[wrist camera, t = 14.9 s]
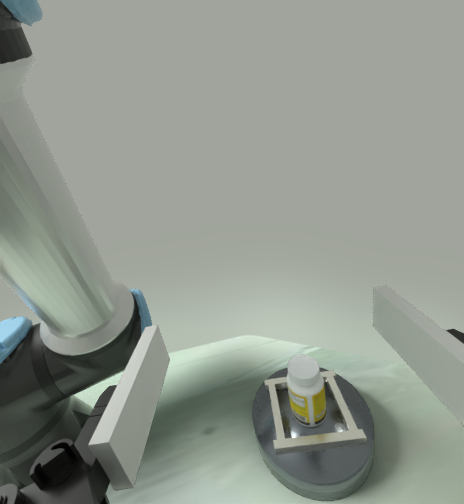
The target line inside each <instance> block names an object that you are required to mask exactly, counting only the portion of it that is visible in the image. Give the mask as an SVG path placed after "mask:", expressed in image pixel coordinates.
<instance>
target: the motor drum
mask: <svg viewBox="0 0 464 504" xmlns="http://www.w3.org/2000/svg"><path fill="white" fill-rule="evenodd" d="M319 369H320V373H321V375H322V377H323V380H324V389H325V400H326V418H325V420H324V422H323V423H322V424H321V425H319V426H316V427H306V426H303V425H301V424H300V423H298V422H297V421H296V419H295V418H294V416H293V414H292V411H291V405H290V399H289V392H288V386H287V374H288V368H285V369H282V370H280V371H278V372H276V373H274V374H273V375H271V376H270V377H269V378H268V379H267V380H264V381H265V382H264V383H263V384H262V385H261V387H260V388H259V390H258V392H257V394H256V396H255V399H254V403H253V424H254V429H255V433H256V438H257V442H258V446H259V449H260V453H261V455H262V457H263V460H264V462H265V463H266V465H267V467H268V468H269V470H270V471H271V472H272V474H273V475H274V476H275V477H276V478H277V479H278V480H279V481H280V482H281V483H282V484H283V485H284V486H286V487H287V488H288V489H290V490H291V491H293V492H295V493H297V494H299V495H301V496H303V497H306V498H309V499H313V500H319V501H333V500H338V499H342V498H344V497H347V496H349V495H351V494H352V493H354V492H355V491H356V490H358V489H359V488H360V487H361V486H362V485H363V483H364V482H365V480H366V479H367V477H368V475H369V473H370V471H371V467H372V463H373V455H374V425H373V420H372V416H371V413H370V410H369V408H368V406H367V404H366V402H365V401H364V399H363V397H362V396H361V395H360V393H359V392H358V391H357V390H356V389H355V388H354V387H353V386H352V385H351V384H350V383H349V382H348V381H346V380H345V379H344V378H342V377H341V376H339V375H337V374H335V372H334V370H331V371H329V370H326V369H323V368H319Z"/></svg>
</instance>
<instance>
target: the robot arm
mask: <svg viewBox="0 0 464 504" xmlns="http://www.w3.org/2000/svg"><path fill="white" fill-rule="evenodd" d="M41 19H42V10H41V8H40V6H39V4H38V1H37V0H0V278H1V279H2V280H3V281H4V282H5V283H6V284H7V285H8V286H9V287H10V288H11V289H12V290H13V291H14V292H15V293H16V294H17V295H18V296H19V297H20V298H21V299H22V300H23V301H24V302H25V303H26V304H27V305H28V306H29V307H30V308H31V309H32V310H33V311H34V312H35V313H36V314H37V315H38V316H39V317H40V318H41V319H42V320H41V323H39V324H36V325H32V321H31V320H29V319H28V318H26V317H23V316H20V317H13V318H10V319H7V320H4V321H1V322H0V504H109V500H108V498H107V496H106V491H107V488H108V485H109V483H111V485H112V486H113V488H114V490H121V489H128V488H134V485H135V481H136V478H137V474H138V471H139V467H140V463H141V460H142V456H143V453H144V449H145V446H146V442H147V439H148V435H149V432H150V428H151V425H152V421H153V418H154V414H155V411H156V407H157V403H158V400H159V396H160V393H161V389H162V386H163V382H164V379H165V375H166V372H167V368H168V365H169V361H170V358H169V355H168V353H167V350H166V347H165V344H164V342H163V338H162V336H161V333H160V330H159V327H158V325H155V326H152V322H151V317H150V313H149V310H148V307H147V304H146V301H145V298H144V296H143V294H142V292H141V291H140V290H139V289H130V290H129V289H128V288H127V287H126V286H125V285H124V284H122V283H120V282H118V281H116V280H112V278H111V276H110V274H109V272H108V270H107V268H106V265H105V263H104V261H103V259H102V257H101V255H100V253H99V251H98V249H97V247H96V244H95V242H94V240H93V238H92V236H91V234H90V232H89V230H88V228H87V226H86V224H85V221H84V219H83V217H82V215H81V213H80V211H79V209H78V207H77V205H76V203H75V201H74V198H73V197H72V194H71V192H70V190H69V188H68V186H67V184H66V182H65V180H64V178H63V176H62V173H61V171H60V169H59V167H58V165H57V163H56V161H55V159H54V157H53V155H52V153H51V150H50V148H49V146H48V144H47V142H46V140H45V138H44V136H43V134H42V132H41V130H40V128H39V126H38V123H37V121H36V119H35V117H34V115H33V113H32V111H31V109H30V107H29V105H28V103H27V100H26V98H25V96H24V93H23V87H22V85H23V83H24V81H25V79H26V77H27V75H28V73H29V71H30V68H31V66H32V64H33V62H34V56H33V54H32V51H31V49H30V46H29V44H28V42H27V39H26V37H25V34H24V32H23V30H22V27H21V23H25V24H27V25H30V26H31V25H32V24H33V23H34V22H37V21H40V20H41ZM373 327H374V328H375V329H376V330H377V331H378V332H379V333H380V334H381V335H382V336H383V338H384V339H385V340H386V341H387V342H388V343H389V344H390V345H391V346H392V348H393V349H394V350H395V351H396V352H397V353H398V354H399V355H400V356H401V358H403V360H404V361H405V362H406V363H407V364H408V365H409V366H410V368H411V369H412V370H413V371H414V372H415V373H416V374H417V375H418V376H419V377H420V379H421V380H422V381H423V382H424V383H425V384H426V385H427V386H428V387H429V389H430V390H431V391H432V392H433V393H434V394H435V395H436V396H437V397H438V398H439V400H440V401H441V402H442V403H443V404H444V405H445V406H446V407H447V408H448V410H449V411H450V412H451V413H452V414H453V415H454V416H455V417H456V418H457V420H458V421H459V422H460V423H461V424H462V425H463V426H464V333H462V332H459V331H457V330H455V329H450V330H445V329H443V328H442V327H440V326H439V325H438V324H437V323H436V322H434V321H433V320H432V319H430V318H429V317H428V316H426V315H425V314H424V313H422V312H421V311H420V310H418V309H417V308H416V307H414V306H413V305H412V304H411V303H409V302H408V301H406V300H405V299H404V298H403V297H401V296H400V295H399V294H397V293H396V292H395V291H393V290H392V289H391V288H389V287H388V286H387V285H385V286H379V287H374V288H373ZM122 371H124V372H123V374H122V377H121V379H120V381H119V383H118V385H113V386H109V387H108V388H107V389H106V390H105V391H104V392H103V393H102V394H101V396H100V397H99V399H98V401H97V403H96V404H95V406H94V409H93V408H92V407H91V406H89V405H88V404H86V403H85V402H83V401H81V400H80V399H78V398H77V397H75V396H73V395H74V394H76V393H78V392H80V391H83V390H85V389H87V388H89V387H91V386H93V385H95V384H97V383H99V382H101V381H104V380H106V379H108V378H110V377H112V376H114V375H116V374H118V373H120V372H122Z"/></svg>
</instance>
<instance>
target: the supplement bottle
mask: <svg viewBox="0 0 464 504" xmlns="http://www.w3.org/2000/svg"><path fill="white" fill-rule="evenodd" d="M287 386H288V392H289V399H290V405H291V411H292V414H293V416H294V418H295V419H296V421H297V422H298V423H300V424H301V425H303V426H306V427H316V426H319V425H321V424H322V423H323V422H324V420H325V418H326V400H325V389H324V380H323V377H322V375H321V373H320V369H319V364H318V362H317V361H316V360H315V359H314V358H313V357H311V356H308V355H296V356H294V357H292V358H291V359H290V360H289V362H288V374H287Z"/></svg>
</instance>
